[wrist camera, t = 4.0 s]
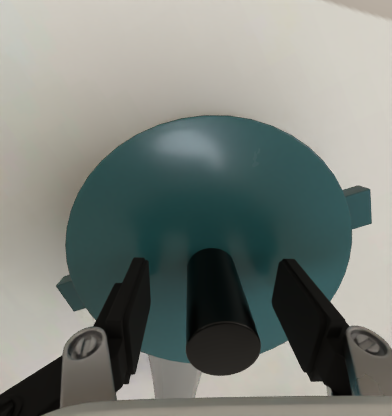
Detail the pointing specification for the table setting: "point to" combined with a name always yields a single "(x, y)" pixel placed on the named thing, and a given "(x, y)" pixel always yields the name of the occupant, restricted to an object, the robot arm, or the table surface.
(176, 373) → the flask
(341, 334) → the robot arm
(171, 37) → the table surface
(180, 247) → the pot lid
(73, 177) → the table surface
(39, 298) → the table surface
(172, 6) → the table surface
